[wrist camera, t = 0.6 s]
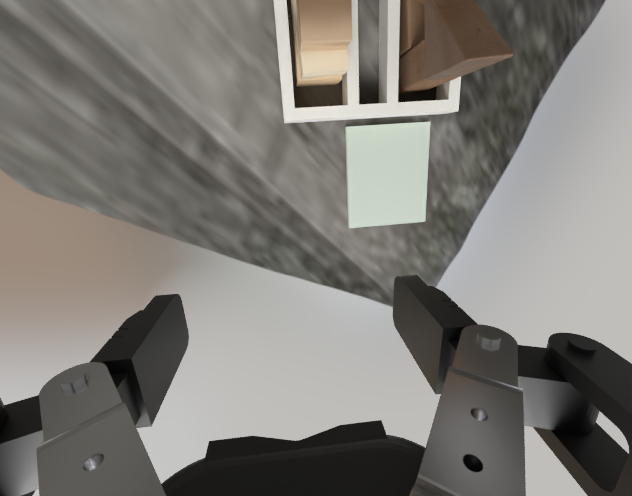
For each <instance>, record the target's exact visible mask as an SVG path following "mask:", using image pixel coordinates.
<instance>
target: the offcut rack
mask: <svg viewBox="0 0 632 496" xmlns="http://www.w3.org/2000/svg"><path fill="white" fill-rule="evenodd" d="M273 1H274V13H275V24H276V35H277V47H278V58H279V70H280V81H281V93H282V104H283V115H284V123H298V122H315V121H332V120H349V119H365V118H382V117H399V116H416V115H433V114H446V113H451V112H456V111H458V109H459V96H460V84H461V77H458V78H456V79H453V80H451V81H448V82H446V83H443V84H441V85H438V86H437V88H436V100H431V101H413V102H398V79H399V31H400V0H379V103H378V104H360V105H359V59H358V0H351V1H352V41H351V42H350V44H349V45H348V52H349V64H350V68H349V69H348V70H347V72H346V73H345V74H344V75H342V99H343V105H342V106H324V107H306V108H295V105H294V92H293V79H292V65H291V52H290V39H289V26H288V13H287V0H273Z"/></svg>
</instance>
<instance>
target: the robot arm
mask: <svg viewBox="0 0 632 496" xmlns="http://www.w3.org/2000/svg"><path fill="white" fill-rule="evenodd" d="M393 320H394V324H395V327H396V329H397V331H398V332H399V334H400V336H401V338H402V339H403V341H404V342H405V344H406V346H407V348H408V349H409V351H410V352H411V354H412V356H413V358H414V359H415V361H416V362H417V364H418V366H419V368H420V369H421V371H422V372H423V374H424V376H425V377H426V379H427V381H428V382H429V384H430V386H431V387H432V389H433V391H434V392H435V394H441V396H440V400H439V403H438V407H437V411H436V414H435V418H434V421H433V424H432V428H431V431H430V435H429V438H428V442H427V445H426V448H425V447H423V446H421V445H419V444H417V443H414V442H412V441H409V440H407V439H404V438H400V437H396V436H391V435H386V432H385V430H384V427H383V424H382V421H371V422H363V423H355V424H347V425H340V426H337V427H335V428H332V429H329V430H327V431H324V432H321V433H319V434H316V435H313V436H311V437H308V438H305V439H303V440H299V441H291V440H283V439H274V438H266V437H258V436H248V437H240V438H232V439H224V440H216V441H209V445H208V449H207V453H206V457H205V458H203V459H201V460H198V461H196V462H194V463H192V464H190V465H188V466H187V467H185V468H183V469H181V470H180V471H178V472H177V473H175V474H174V475H173V476H171V477H170V478H169V479H167V480H166V481H165V482H163V483H162V484H161V483H160V480H159V478H158V476H157V474H156V472H155V469H154V467H153V465H152V462H151V460H150V458H149V456H148V453H147V452H146V449H145V447H144V445H143V442H142V440H141V438H140V436H139V433H138V431H137V429H136V428H140V427H148V426H152V424H153V421H154V420H155V417H156V415H157V413H158V411H159V409H160V406H161V404H162V402H163V400H164V397H165V395H166V393H167V391H168V389H169V387H170V384H171V382H172V380H173V378H174V375H175V373H176V371H177V369H178V367H179V365H180V362H181V360H182V358H183V356H184V353H185V351H186V349H187V346H188V339H189V335H188V328H187V324H186V319H185V314H184V309H183V305H182V300H181V297H180V296H179V295H178V294H171V295H159V296H155V297H154V298H153V299H152V300H151V302H150V303H149V304H148V305H147V306H146V308H145V309H144V310H141V311H139V312H137V313H135V314H134V315H132V316H131V317H130V318H128V319H127V320H126V321H125V322H124V323H123V324H122V325H121V327H120V328H119V330H118V331H116V332H115V333H114V335H113V336H112V339H109V340H108V342H107V343H106V344H105V345H104V346H103V347H102V349H101V350H100V351H99V352H98V353H97V354H96V355H95V357H94V358H93V359H92V360H91V361H90V362H89V363H85V364H81V365H77V366H75V367H72V368H69V369H67V370H65V371H63V372H61V373H60V374H58V375H56V376H55V377H53V378H52V379H51V380H49V381H48V382H47V383H46V384H45V385H44V386H43V388H42V389H41V391H40V393H39V395H38V396H35V397H32V398H28V399H25V400H21V401H18V402H14V403H11V404H8V405H4V404H3V402H2V400H1V398H0V496H32V495H33V494H34V492H35V490H37V489H39V494H40V496H526V495H525V494H526V493H525V447H524V425H525V426H531V427H533V428H534V429H535V430H536V431H537V433H538V434H539V435H540V436H541V438H542V439H543V440H544V441H545V443H546V444H547V445H548V446H549V448H550V449H551V450H552V451H553V453H554V454H555V455H556V456H557V458H558V459H559V460H560V461H561V463H562V464H563V465H564V466H565V468H566V469H567V470H568V471H569V473H570V474H571V475H572V476H573V478H574V479H575V480H576V481H577V483H578V484H579V485H580V486H581V488H582V489H583V490H584V491H585V493H586V494H587V495H588V496H632V364H631V363H630V362H628V361H627V360H625V359H624V358H622V357H621V356H619V355H618V354H616V353H615V352H614V351H612V350H610V349H609V348H608V347H606V346H605V345H603V344H601V343H599V342H597V341H595V340H592V339H590V338H587V337H584V336H581V335H577V334H571V333H556V334H553V335H551V336H550V337H549V340H548V344H547V348H540V347H531V346H521V345H518V344H517V342H516V340H515V339H514V338H513V337H512V336H511V335H509V334H508V333H506V332H504V331H502V330H500V329H498V328H495V327H491V326H487V325H478V324H477V323H476V322H475V321H474V320H473V319H471V318H470V317H469V316H468V315H467V314H466V313H465V312H464V311H463V310H462V309H461V308H460V307H458V305H457V304H456V303H455V302H453V301H451V299H450V298H449V297H448V296H447V295H446V294H445V293H444V292H443V291H441V290H439V289H437V288H434V287H432V286H427V285H426V284H425V283H424V282H423V281H422V280H421V279H420V278H419V277H418V276H417V275H407V276H397V277H396V278H395V281H394V299H393ZM599 411H600V412H602V413H603V414H604V415H605V416H606V417H607V418H608V419H609V420H610V421H611V422H612V423H614V424H615V425H616V426H617V427H618V428H619V429H620V430H621V432H622V433H623V434H624V436H625V438H626V440H627V442H628V445H629V454H628V453H627V452H626V451H625V450H624V449H623V448H622V447H621V446H620V445H618V443H617V442H616V441H615V440H613V439H612V438H611V437H610V436H609V435H608V434H607V433H606V432H605V431H604V430H603V429H602V428H601V427H600V426H599V425H598V424H597V423H596V419H597V417H598V414H599Z"/></svg>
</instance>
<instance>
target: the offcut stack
mask: <svg viewBox="0 0 632 496" xmlns="http://www.w3.org/2000/svg"><path fill="white" fill-rule="evenodd" d="M290 6H291V19H292V33H293V46H294V60H295V74H296V86H316V85H336V84H338V83H339V82H340V81H341V80H342V75H344V74H345V73H346V72H347V70H348V69H349V68H350V64H349V52H348V45H349V44H350V42H351V41H352V1H351V0H290Z"/></svg>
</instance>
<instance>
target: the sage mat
mask: <svg viewBox="0 0 632 496" xmlns="http://www.w3.org/2000/svg"><path fill="white" fill-rule="evenodd" d="M429 139H430V122H417V123H400V124H384V125H368V126H351V127H345V141H346V175H347V208H348V228H357V227H368V226H380V225H392V224H403V223H415V222H425V216H426V197H427V178H428V158H429Z"/></svg>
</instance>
